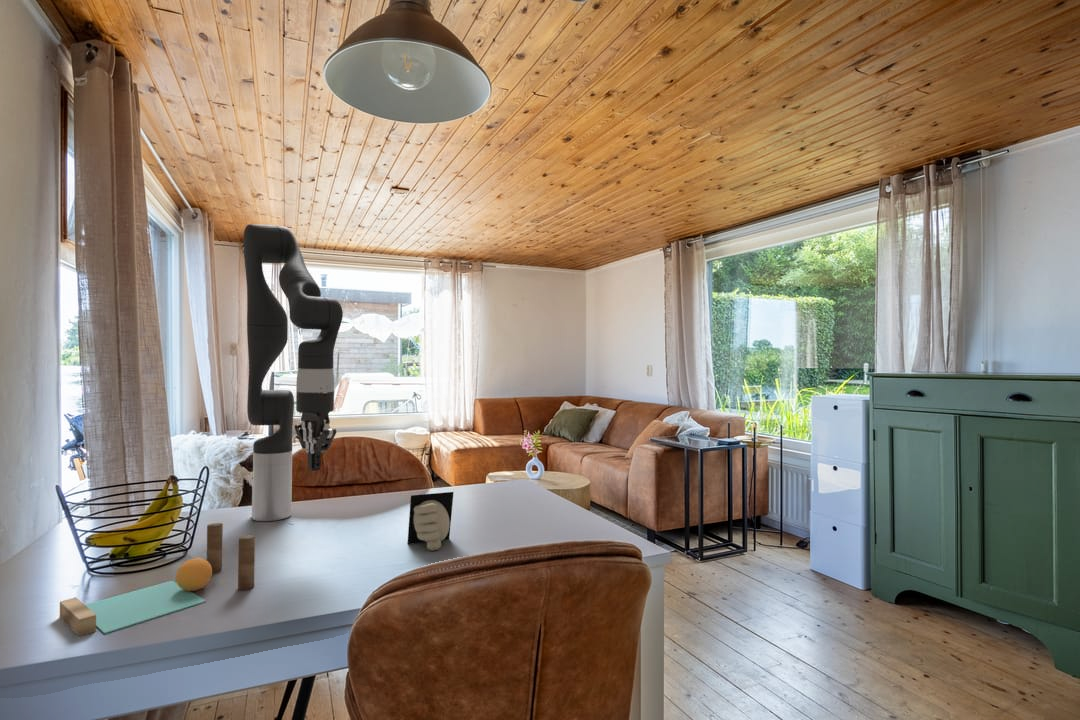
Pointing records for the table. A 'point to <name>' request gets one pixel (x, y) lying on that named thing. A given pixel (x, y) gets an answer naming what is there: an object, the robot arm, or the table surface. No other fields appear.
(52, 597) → the table surface
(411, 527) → the decorative object
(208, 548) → the post
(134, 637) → the table surface
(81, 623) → the rail
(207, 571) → the ball
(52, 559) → the table surface
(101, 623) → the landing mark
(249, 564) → the post
